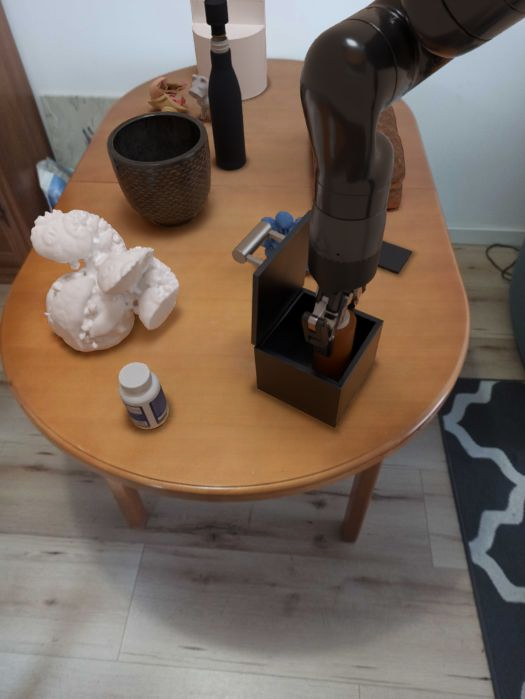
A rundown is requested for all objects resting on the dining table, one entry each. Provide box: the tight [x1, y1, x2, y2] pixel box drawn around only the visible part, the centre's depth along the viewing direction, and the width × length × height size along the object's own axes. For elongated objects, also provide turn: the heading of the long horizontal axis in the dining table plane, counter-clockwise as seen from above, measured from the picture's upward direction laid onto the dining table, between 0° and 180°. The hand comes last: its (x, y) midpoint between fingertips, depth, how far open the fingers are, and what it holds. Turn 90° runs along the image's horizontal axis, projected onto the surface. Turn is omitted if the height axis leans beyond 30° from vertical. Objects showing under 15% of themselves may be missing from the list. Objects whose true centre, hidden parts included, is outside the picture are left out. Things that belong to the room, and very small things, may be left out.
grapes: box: [260, 210, 309, 273], centre depth 82 cm, size 12×7×12 cm, turn 80°
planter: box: [106, 111, 212, 229], centre depth 92 cm, size 17×17×16 cm
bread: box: [312, 105, 407, 209], centre depth 101 cm, size 17×29×11 cm, turn 178°
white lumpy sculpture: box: [29, 208, 180, 353], centre depth 78 cm, size 19×20×20 cm
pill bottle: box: [117, 361, 170, 430], centre depth 67 cm, size 5×5×10 cm
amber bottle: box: [312, 308, 356, 382], centre depth 67 cm, size 5×5×14 cm
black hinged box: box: [253, 286, 385, 429], centre depth 70 cm, size 13×13×10 cm
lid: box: [231, 209, 311, 346], centre depth 63 cm, size 13×13×6 cm
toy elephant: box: [146, 76, 189, 113], centre depth 119 cm, size 9×10×10 cm
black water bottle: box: [204, 0, 247, 171], centre depth 96 cm, size 6×6×30 cm
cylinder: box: [189, 0, 268, 101], centre depth 118 cm, size 17×17×28 cm
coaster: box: [377, 240, 413, 275], centre depth 88 cm, size 6×6×1 cm
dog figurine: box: [187, 73, 210, 120], centre depth 116 cm, size 5×13×11 cm, turn 144°
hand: (333, 337), depth 65 cm, fingers closed on amber bottle, 5 cm apart
